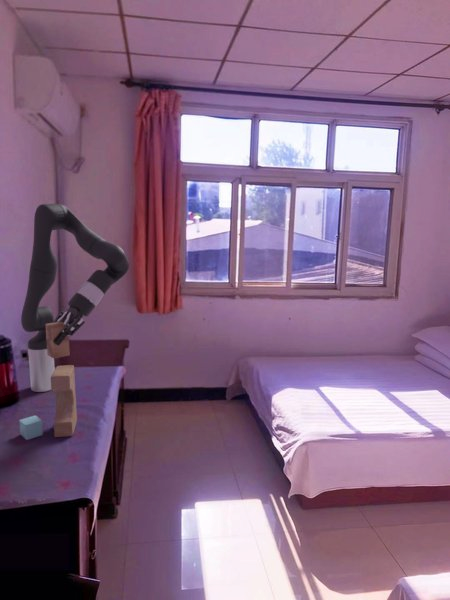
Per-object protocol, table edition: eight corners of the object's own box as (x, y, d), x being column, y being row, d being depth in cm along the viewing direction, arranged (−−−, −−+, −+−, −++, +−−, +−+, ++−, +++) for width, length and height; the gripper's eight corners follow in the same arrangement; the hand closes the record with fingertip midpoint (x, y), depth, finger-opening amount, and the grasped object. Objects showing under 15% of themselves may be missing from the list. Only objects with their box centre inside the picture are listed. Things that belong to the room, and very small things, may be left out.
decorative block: (72, 436, 139) (69, 376, 135) (53, 438, 138) (49, 376, 135) (77, 421, 150) (74, 364, 146) (60, 422, 149) (56, 365, 145)
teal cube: (20, 434, 140) (19, 419, 139) (36, 429, 144) (35, 415, 143) (26, 440, 137) (25, 425, 136) (42, 435, 140) (41, 420, 139)
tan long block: (47, 354, 139) (45, 323, 137) (63, 351, 142) (61, 321, 141) (54, 358, 135) (52, 326, 134) (69, 355, 139) (68, 324, 137)
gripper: (68, 289, 146) (33, 330, 140) (88, 294, 135) (52, 339, 129) (84, 303, 150) (51, 344, 144) (105, 309, 140) (70, 353, 134)
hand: (51, 341), depth 137 cm, fingers closed on tan long block, 5 cm apart
